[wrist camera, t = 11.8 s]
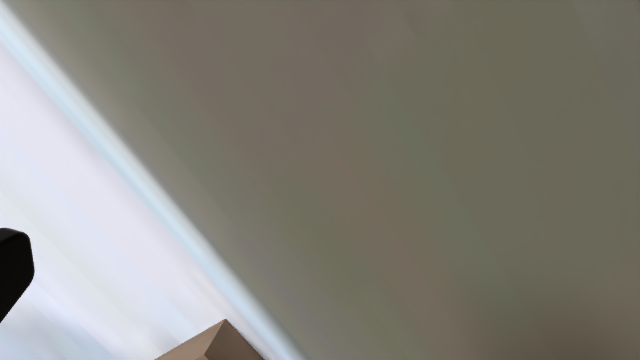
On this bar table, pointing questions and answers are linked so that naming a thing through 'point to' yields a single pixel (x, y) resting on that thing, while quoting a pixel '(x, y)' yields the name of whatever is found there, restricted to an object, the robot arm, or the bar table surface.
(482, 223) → the bar table surface
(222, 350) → the walnut block
